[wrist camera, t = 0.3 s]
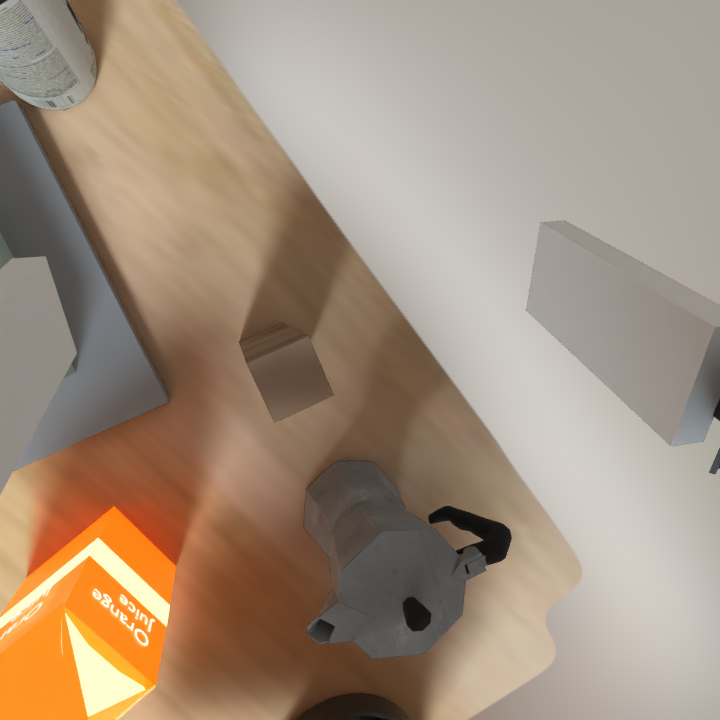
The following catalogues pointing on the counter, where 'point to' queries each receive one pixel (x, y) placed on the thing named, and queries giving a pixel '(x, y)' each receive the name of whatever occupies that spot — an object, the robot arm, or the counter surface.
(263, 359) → the peg
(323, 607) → the coffeepot
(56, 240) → the socket block
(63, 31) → the spray can
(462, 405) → the counter surface
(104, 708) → the orange juice
